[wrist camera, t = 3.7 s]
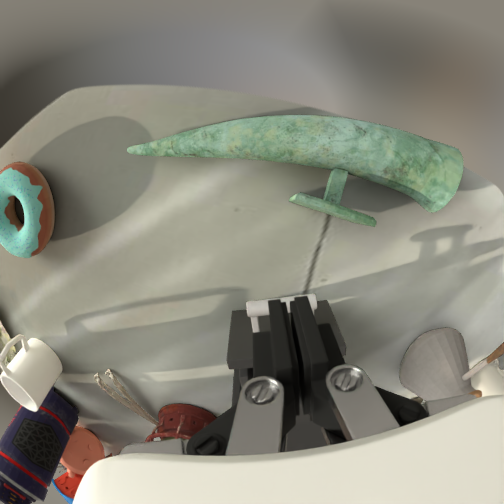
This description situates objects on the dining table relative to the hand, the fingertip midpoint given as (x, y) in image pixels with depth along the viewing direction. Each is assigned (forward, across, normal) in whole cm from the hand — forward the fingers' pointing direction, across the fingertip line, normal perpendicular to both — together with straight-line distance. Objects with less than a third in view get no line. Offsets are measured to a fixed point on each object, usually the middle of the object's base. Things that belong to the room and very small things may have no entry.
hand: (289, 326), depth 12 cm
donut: (+17, +29, -6) cm, 34 cm away
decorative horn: (+16, +10, -13) cm, 24 cm away
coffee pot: (+16, -23, +17) cm, 33 cm away
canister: (+17, +47, +32) cm, 59 cm away
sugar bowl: (+9, +43, +41) cm, 60 cm away
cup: (+17, +40, +16) cm, 47 cm away
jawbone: (+17, +24, +28) cm, 41 cm away
